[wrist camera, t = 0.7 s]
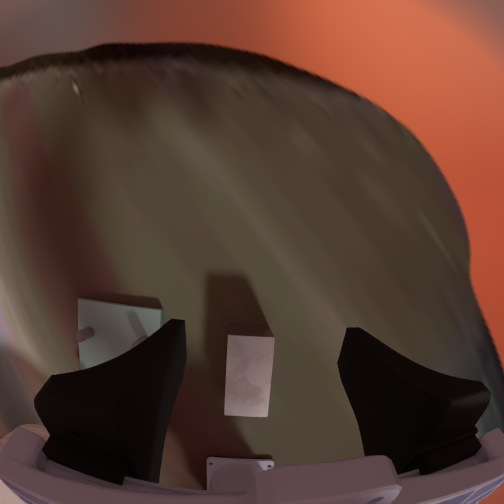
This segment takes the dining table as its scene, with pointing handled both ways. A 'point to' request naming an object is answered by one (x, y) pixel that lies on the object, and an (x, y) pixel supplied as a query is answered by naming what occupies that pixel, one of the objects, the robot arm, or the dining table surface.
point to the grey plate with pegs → (112, 329)
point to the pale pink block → (248, 370)
